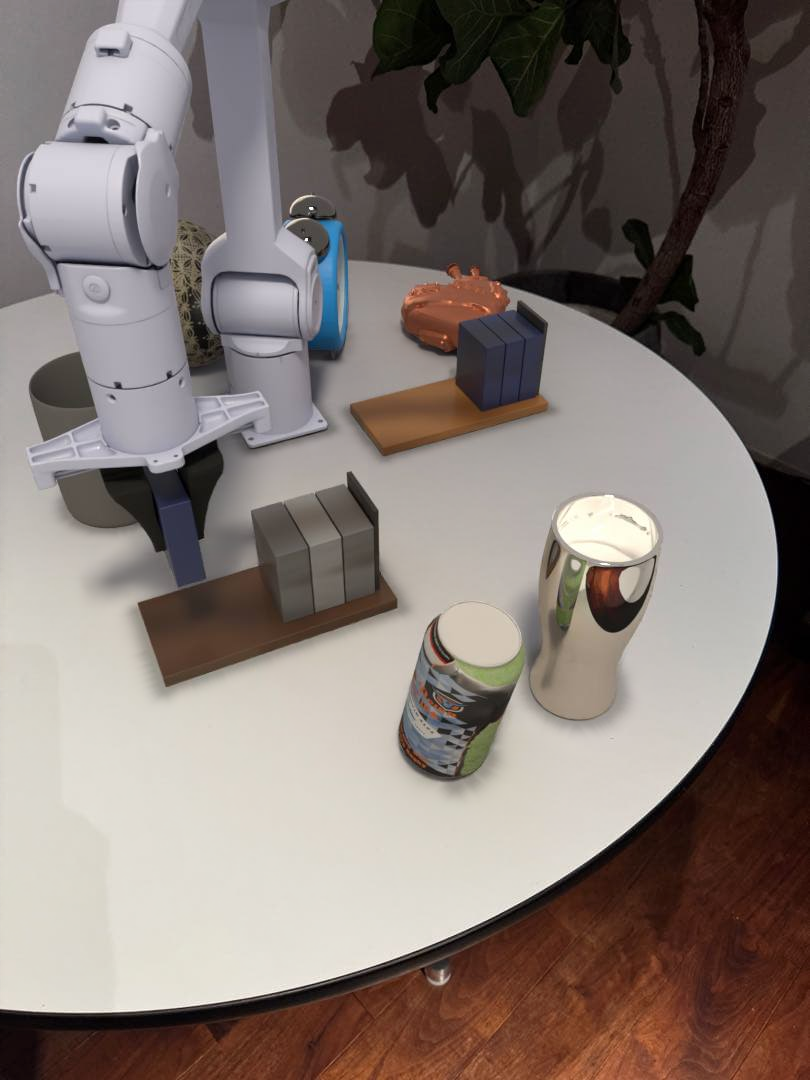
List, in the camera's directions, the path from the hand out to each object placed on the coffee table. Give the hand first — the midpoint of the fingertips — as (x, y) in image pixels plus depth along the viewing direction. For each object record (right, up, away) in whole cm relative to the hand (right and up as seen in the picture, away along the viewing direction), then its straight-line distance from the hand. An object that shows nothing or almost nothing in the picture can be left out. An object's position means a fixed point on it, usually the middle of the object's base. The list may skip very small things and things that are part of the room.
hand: (176, 537), depth 59 cm
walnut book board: (+5, -6, +7) cm, 11 cm away
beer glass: (+27, -11, +2) cm, 29 cm away
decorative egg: (-7, +19, +34) cm, 40 cm away
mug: (-10, +5, +19) cm, 22 cm away
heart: (+21, +23, +39) cm, 50 cm away
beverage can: (+19, -14, -1) cm, 24 cm away
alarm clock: (+6, +21, +37) cm, 43 cm away
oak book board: (+20, +13, +27) cm, 36 cm away
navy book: (0, -2, +1) cm, 2 cm away
